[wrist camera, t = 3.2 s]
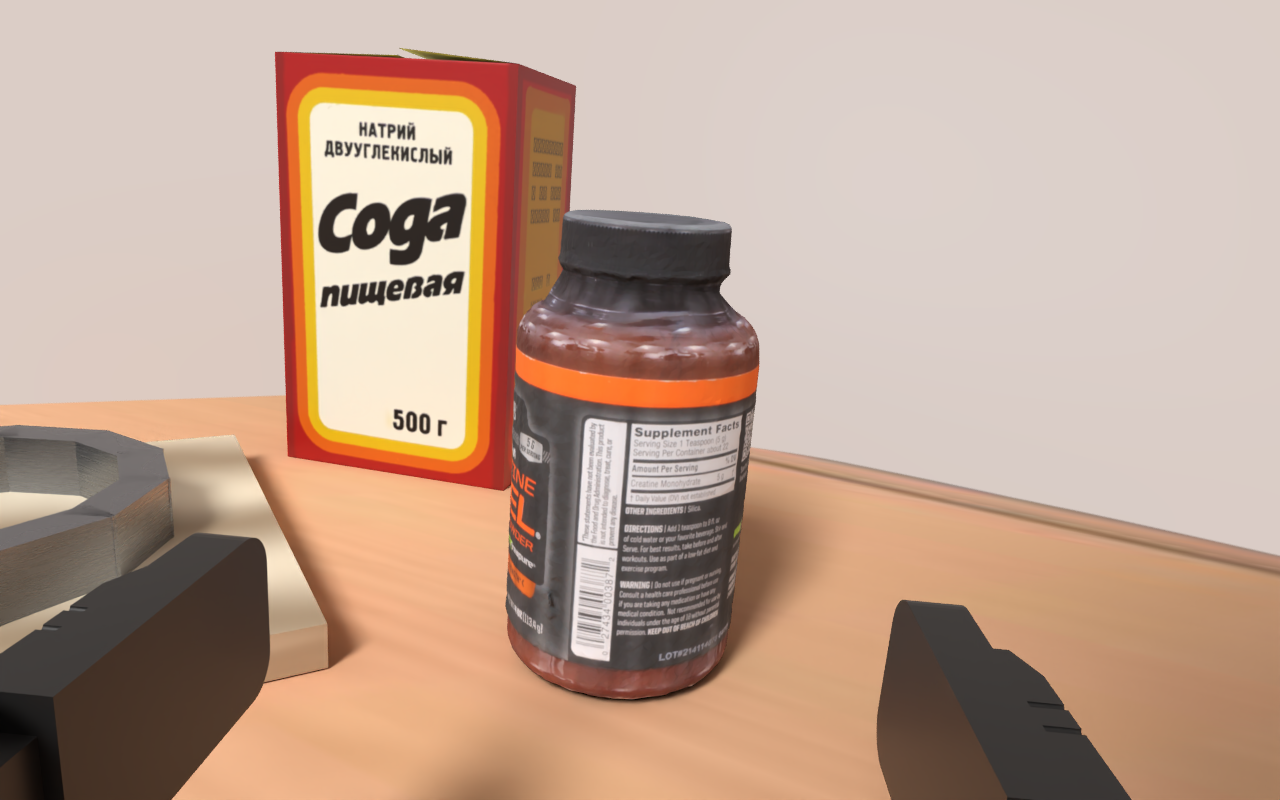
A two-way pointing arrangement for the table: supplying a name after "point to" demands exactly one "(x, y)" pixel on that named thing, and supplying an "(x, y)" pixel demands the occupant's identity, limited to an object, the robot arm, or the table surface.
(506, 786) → the table surface
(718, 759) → the table surface
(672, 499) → the supplement bottle
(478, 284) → the baking soda box
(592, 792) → the table surface
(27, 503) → the birch board
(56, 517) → the ring collar
